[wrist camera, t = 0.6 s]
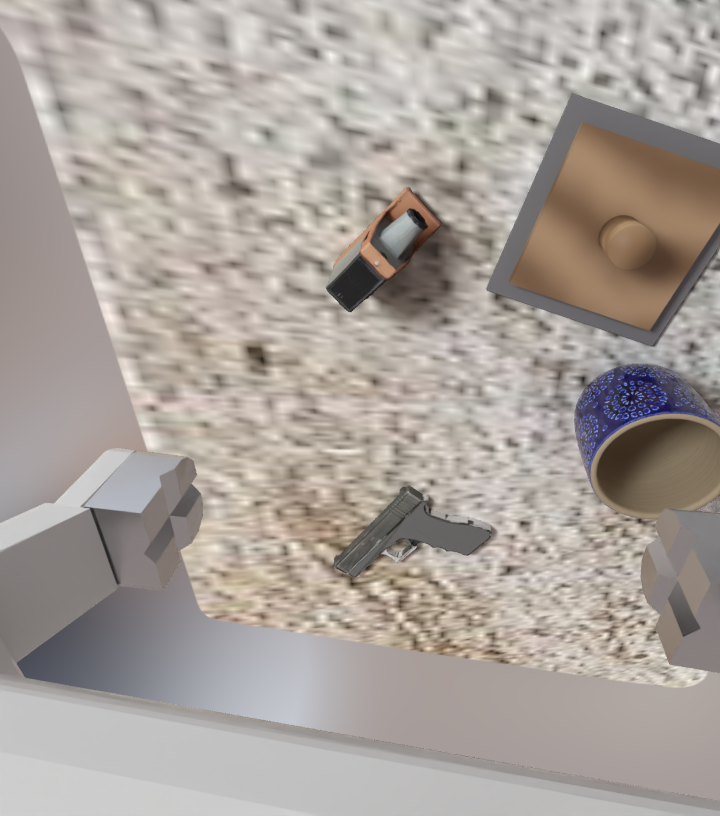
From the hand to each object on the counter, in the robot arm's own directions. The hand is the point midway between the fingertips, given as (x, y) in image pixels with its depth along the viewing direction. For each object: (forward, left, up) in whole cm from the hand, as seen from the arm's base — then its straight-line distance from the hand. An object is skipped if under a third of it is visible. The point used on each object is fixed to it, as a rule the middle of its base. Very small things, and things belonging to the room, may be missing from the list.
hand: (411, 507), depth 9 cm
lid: (0, +14, -41) cm, 43 cm away
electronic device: (+7, -3, -41) cm, 42 cm away
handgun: (+42, +10, -42) cm, 60 cm away
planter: (+14, +23, -41) cm, 49 cm away
